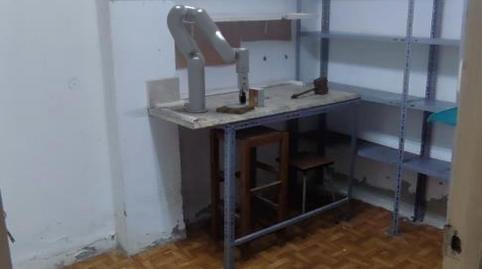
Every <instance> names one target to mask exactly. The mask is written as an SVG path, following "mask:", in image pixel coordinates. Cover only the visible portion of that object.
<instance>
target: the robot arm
mask: <svg viewBox="0 0 482 269" xmlns="http://www.w3.org/2000/svg"><path fill="white" fill-rule="evenodd" d="M183 22H188V23H194V24H195V25H196V27H197V28H198V29H199V31H201V33H202V34H203V36H204V37H205V38H206V40H207V41H208V42H209V43H210V44H211V45H212V47H213V48H214V49H215V51H216V52H217V53H218V55H219V56H220V57H221V58H222V60H223V61H225V62H226V63H232V62H234V61H235V73H236V74H237V89H238V90H239V91H238V92H239V93H238V94H239V95H238V102H240V103H246V104H247V91H248V92H249V88H250V87H249V85H250V84H249V73H250V50H249V48H248V47H232V46H231V45H230V44H229V43H228V41H227V39H226V38H225V37H224V36H223V33H222V32H221V29H220V28H219V27H218V25H217V24H216V23H215V22H214V21H213V19H212V18H211V17H210V15H209V13H208V12H207V11H206V9H204V8H200V7H193V6H189V5H185V4H184V5H183V4H175V5H174V6H172V7H171V8H170V10H169V12H168V14H167V15H166V26H167V29H168V31H169V32H170V35H171V37H172V39H173V40H174V42H175V44H176V47H178V48H177V49H178V50H179V52H180V53H181V54H182V55H183V56H184V58H185V60H186V62H187V63H186V69H187V87H188V90H187V91H188V92H187V93H188V102H184V103H183V107H187V108H186V112H187V113H193V114H198V113H199V114H201V113H207V112H209V107H206V103H207V102H206V72H205V71H206V68H205V67H206V61H205V60H206V58H205V57H204V55H203V53H202V51H201V50H200V48H199V46H198V44H197V43H196V41H195V39H194V38H192V37H191V36H190V34H189V33H188V31H187V29H186V27H185V25H184V23H183ZM240 93H241V96H240Z"/></svg>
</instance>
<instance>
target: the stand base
mask: <svg viewBox="0 0 482 269" xmlns="http://www.w3.org/2000/svg"><path fill="white" fill-rule="evenodd" d="M255 109H256V107H255V106H251V105H249V104H246V108H242V109H229V108H226V107H225V105H222V106H219V107H216V112H217V113H226V114H232V115H233V114H234V115H241V114H242V115H244V114H246V112H247V113H249V112H251V110H252V111H255ZM248 111H249V112H248ZM243 113H244V114H243Z"/></svg>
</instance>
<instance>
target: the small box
mask: <svg viewBox="0 0 482 269" xmlns="http://www.w3.org/2000/svg"><path fill="white" fill-rule="evenodd" d="M248 105H251V106H255V108H262V107H264V106H265V88H260V87H249V90H248Z"/></svg>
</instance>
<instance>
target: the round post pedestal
mask: <svg viewBox="0 0 482 269" xmlns="http://www.w3.org/2000/svg"><path fill="white" fill-rule="evenodd" d="M240 96H241V93H240ZM246 105H247V102H246V103H240V102H239V101H233V102H226V103H225V104H224V106H225V107H226V108H229V109H242V108H246Z"/></svg>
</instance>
